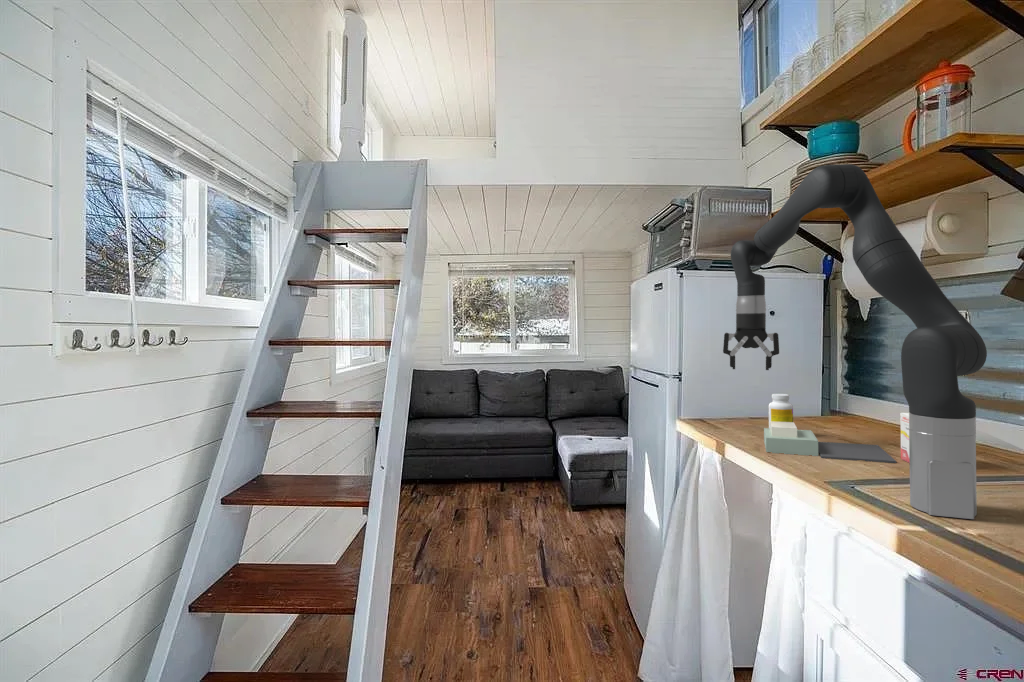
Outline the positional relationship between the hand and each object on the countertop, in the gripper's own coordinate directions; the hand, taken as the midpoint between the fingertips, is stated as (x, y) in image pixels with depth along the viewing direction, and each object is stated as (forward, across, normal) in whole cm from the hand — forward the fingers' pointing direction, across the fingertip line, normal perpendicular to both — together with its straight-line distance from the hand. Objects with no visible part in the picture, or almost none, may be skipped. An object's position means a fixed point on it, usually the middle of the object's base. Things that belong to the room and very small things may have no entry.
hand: (750, 369), depth 144 cm
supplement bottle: (+22, +9, +15) cm, 28 cm away
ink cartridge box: (+21, +37, -9) cm, 43 cm away
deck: (+22, +10, -1) cm, 24 cm away
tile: (+16, +8, -1) cm, 18 cm away
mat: (+21, +24, -1) cm, 32 cm away
